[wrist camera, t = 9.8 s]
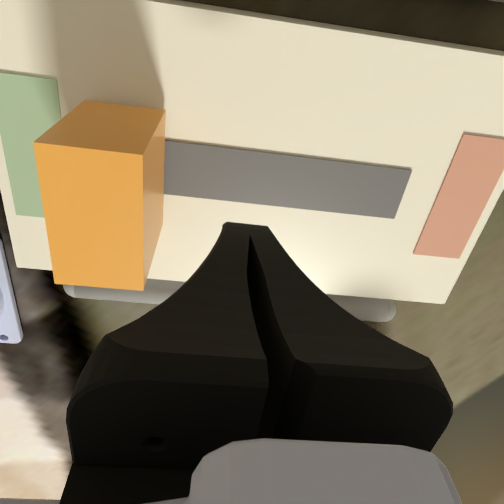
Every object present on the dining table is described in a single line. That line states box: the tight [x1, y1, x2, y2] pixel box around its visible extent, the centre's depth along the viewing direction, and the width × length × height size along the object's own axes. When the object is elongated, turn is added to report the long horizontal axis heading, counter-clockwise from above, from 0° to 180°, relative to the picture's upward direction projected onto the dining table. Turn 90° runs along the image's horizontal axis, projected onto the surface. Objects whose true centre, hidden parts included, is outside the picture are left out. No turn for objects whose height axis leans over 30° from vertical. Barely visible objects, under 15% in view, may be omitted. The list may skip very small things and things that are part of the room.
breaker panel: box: [0, 0, 504, 304], centre depth 19 cm, size 22×12×3 cm, turn 82°
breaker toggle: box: [33, 100, 166, 291], centre depth 15 cm, size 3×5×5 cm, turn 172°
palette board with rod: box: [63, 0, 504, 322], centre depth 20 cm, size 20×19×2 cm
